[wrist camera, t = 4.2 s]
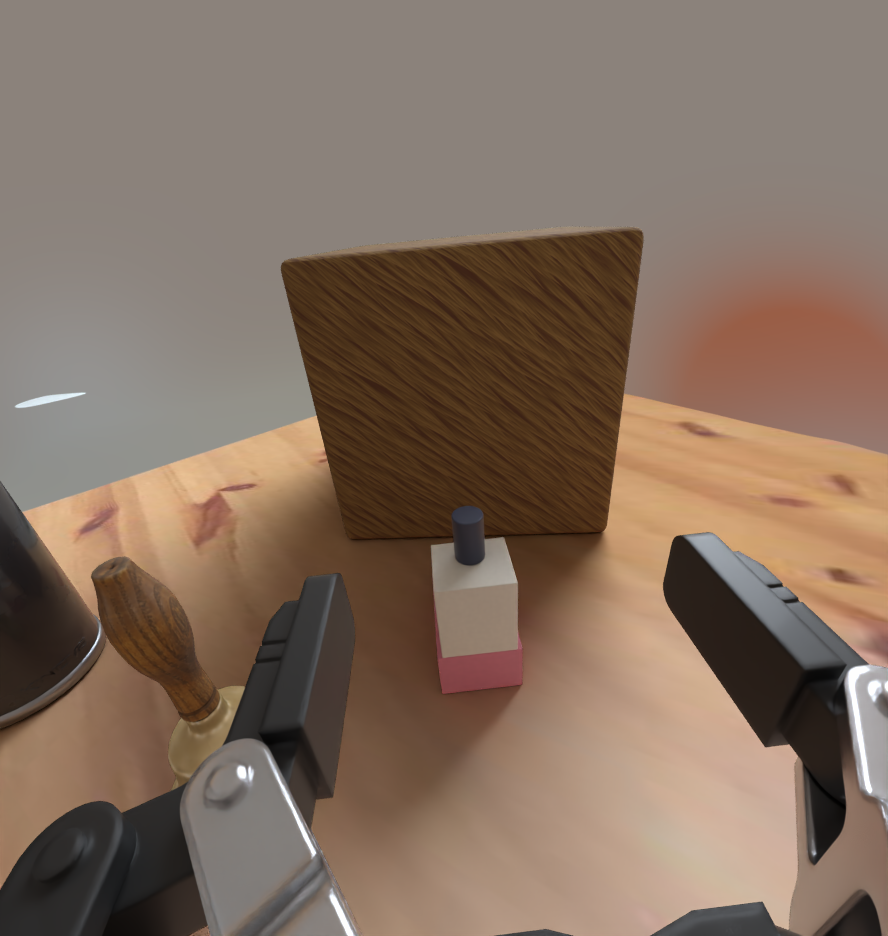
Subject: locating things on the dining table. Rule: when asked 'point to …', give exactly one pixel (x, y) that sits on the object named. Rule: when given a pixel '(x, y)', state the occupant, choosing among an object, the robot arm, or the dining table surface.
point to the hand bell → (165, 659)
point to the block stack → (475, 608)
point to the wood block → (470, 376)
